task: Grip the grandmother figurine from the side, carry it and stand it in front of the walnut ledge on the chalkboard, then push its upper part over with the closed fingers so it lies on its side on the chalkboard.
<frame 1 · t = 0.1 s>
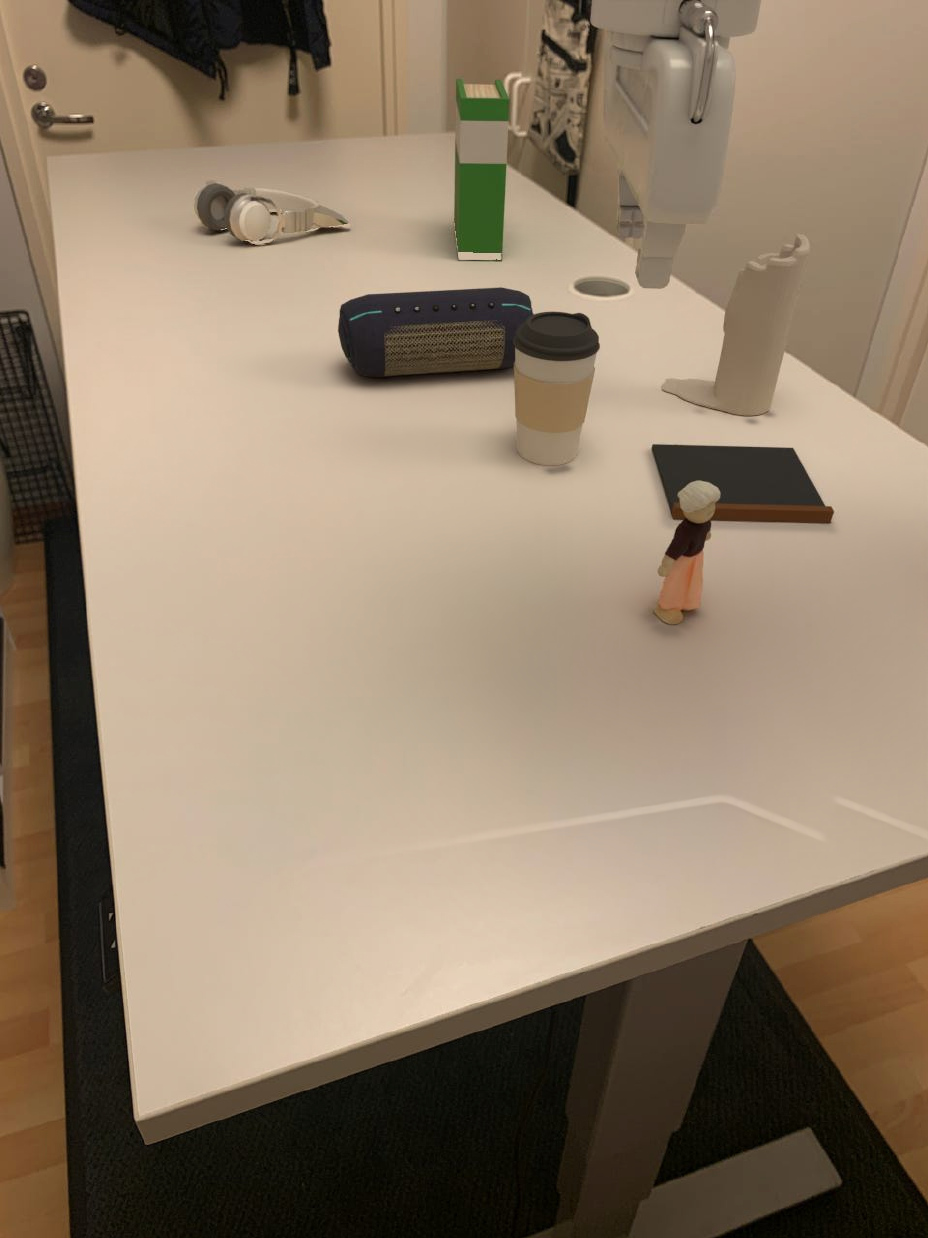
hand: (639, 258, 57), 32 cm above the table, tool pointing down, fingers open, 8 cm apart
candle: (714, 397, 114), on the table
hardback book: (476, 245, 160), on the table
grandmother figurine: (676, 607, 81), on the table
portable speaker: (438, 370, 119), on the table
headphones: (267, 229, 165), on the table
chalkboard: (735, 482, 98), on the table
coffee cup: (546, 451, 103), on the table
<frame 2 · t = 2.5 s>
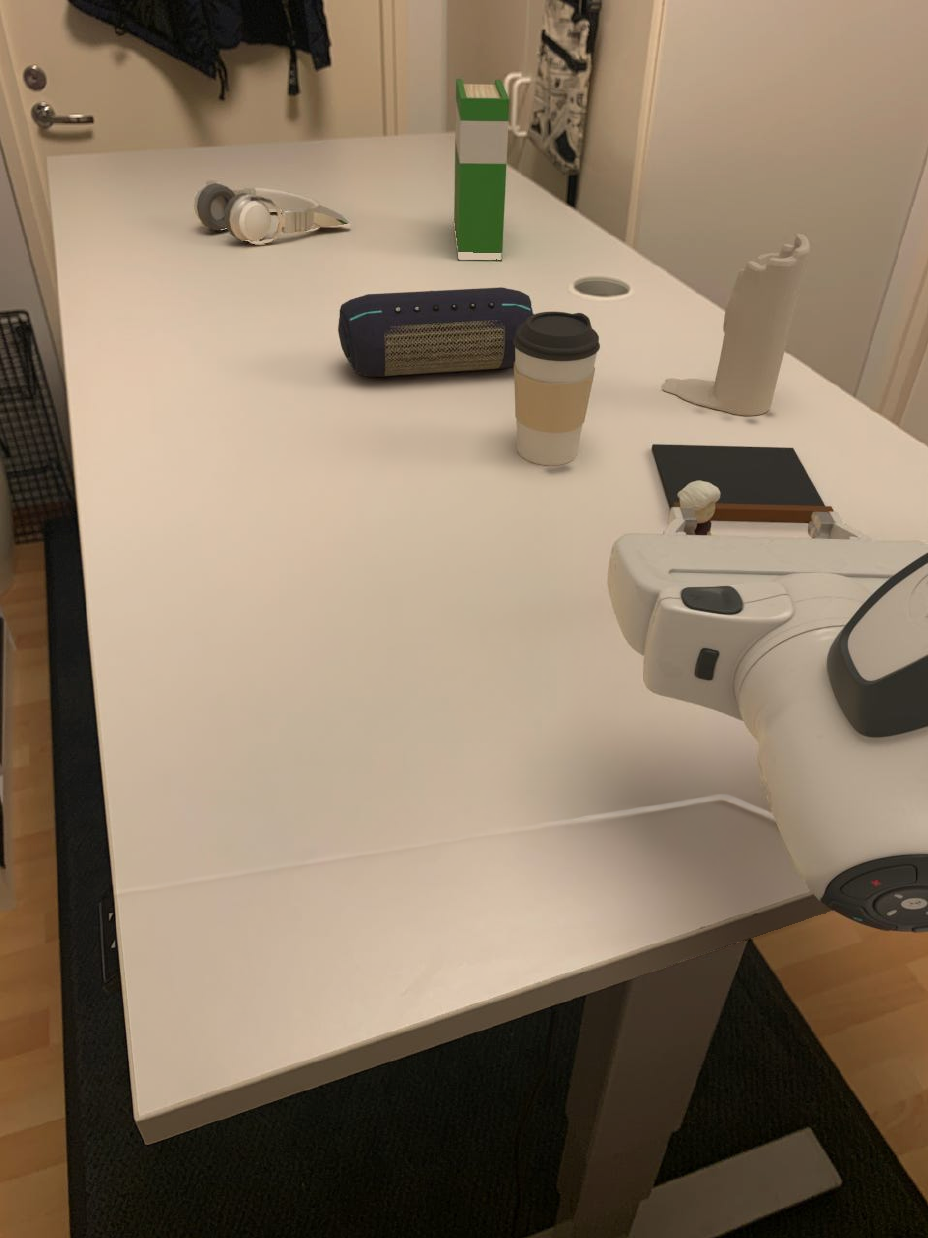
hand: (750, 517, 61), 17 cm above the table, tool horizontal, fingers open, 8 cm apart
nothing on the table moved.
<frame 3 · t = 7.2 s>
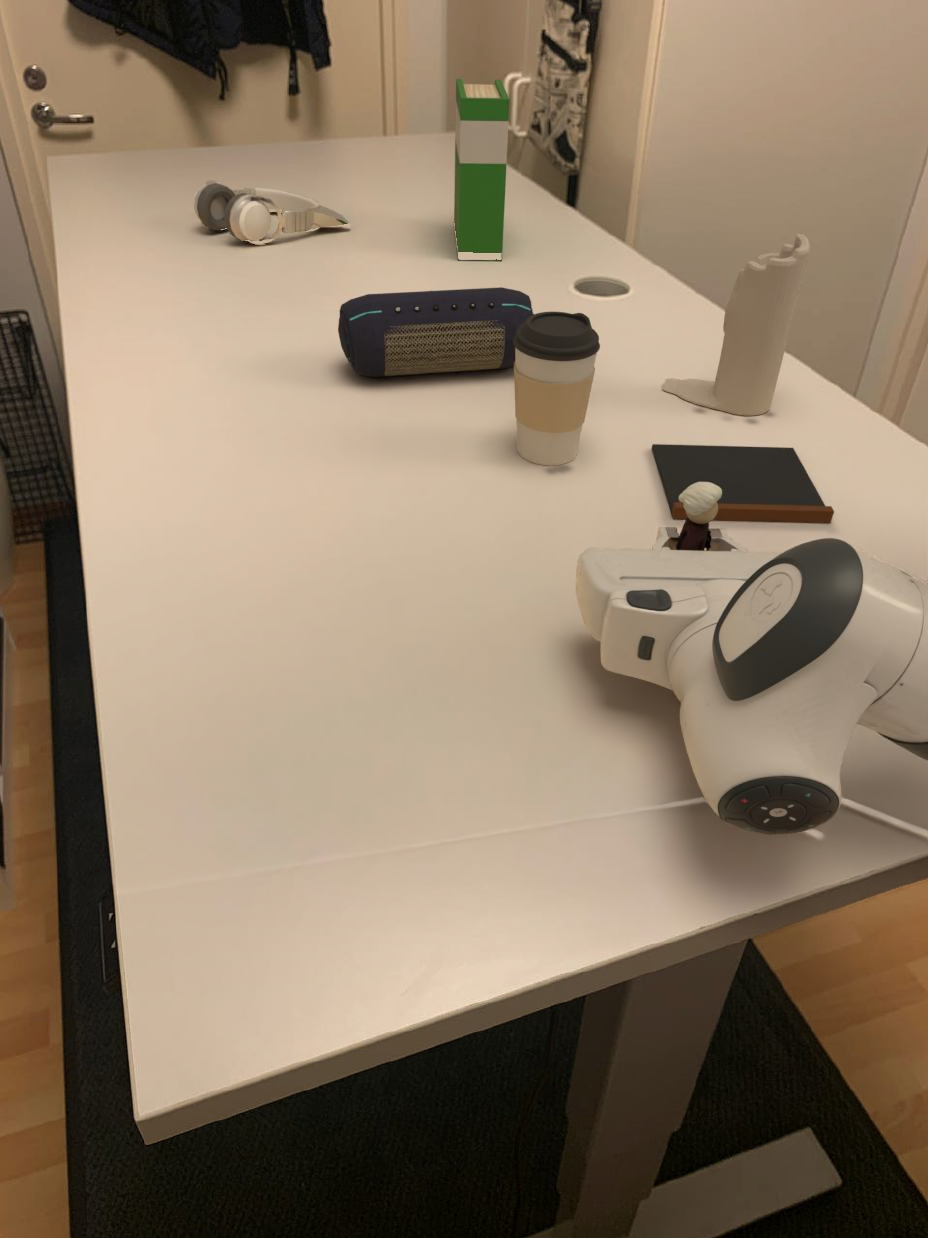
hand: (689, 534, 77), 7 cm above the table, tool horizontal, fingers closed on grandmother figurine, 3 cm apart
grandmother figurine: (679, 608, 81), on the table, touching gripper
everything else where it was.
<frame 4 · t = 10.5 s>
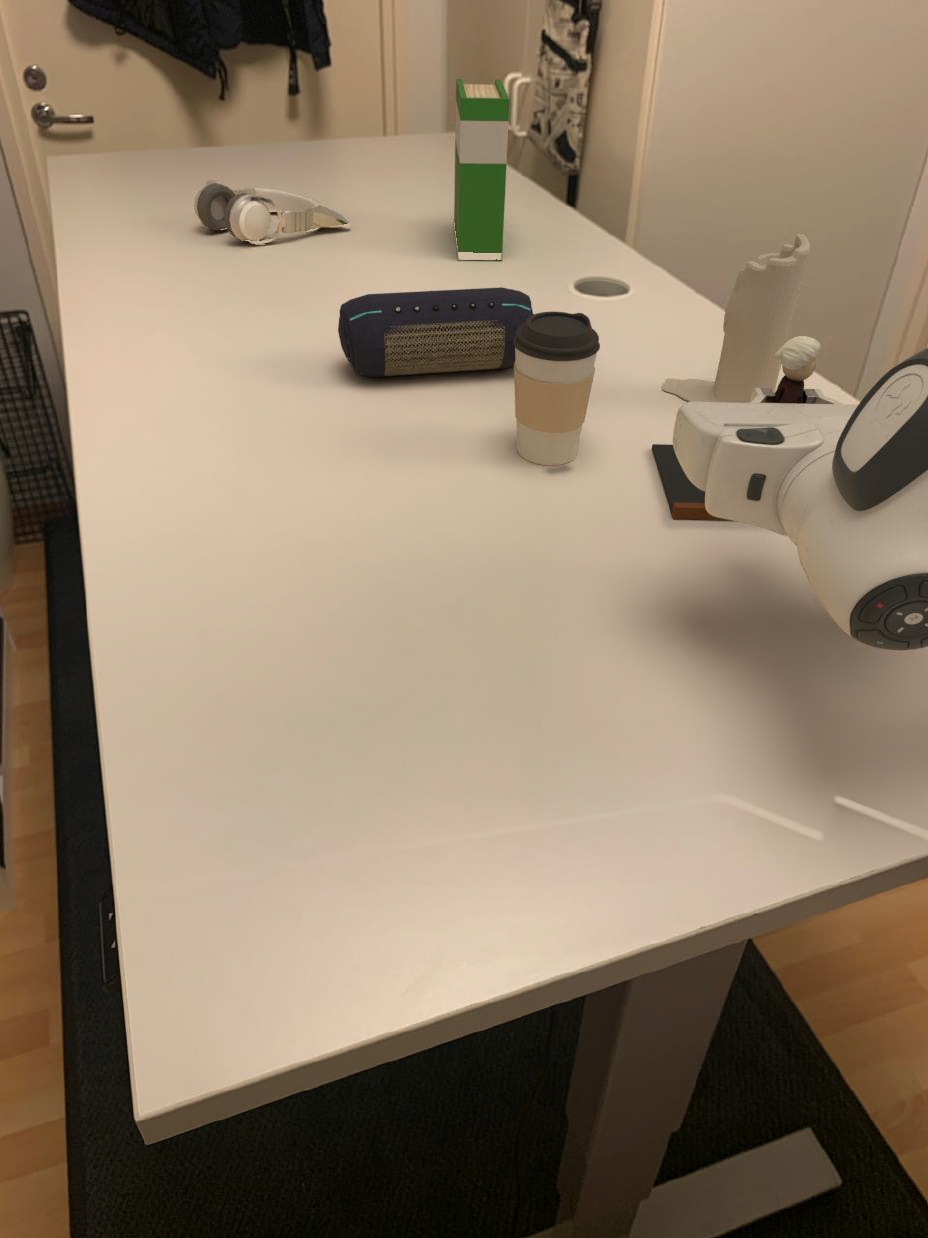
hand: (783, 396, 76), 17 cm above the table, tool horizontal, fingers closed on grandmother figurine, 3 cm apart
grandmother figurine: (769, 478, 80), point 9 cm above the table, touching gripper
everything else where it was.
when the fingers open (7 cm above the table, at t = 14.0 s): grandmother figurine stays where it is, on the table.
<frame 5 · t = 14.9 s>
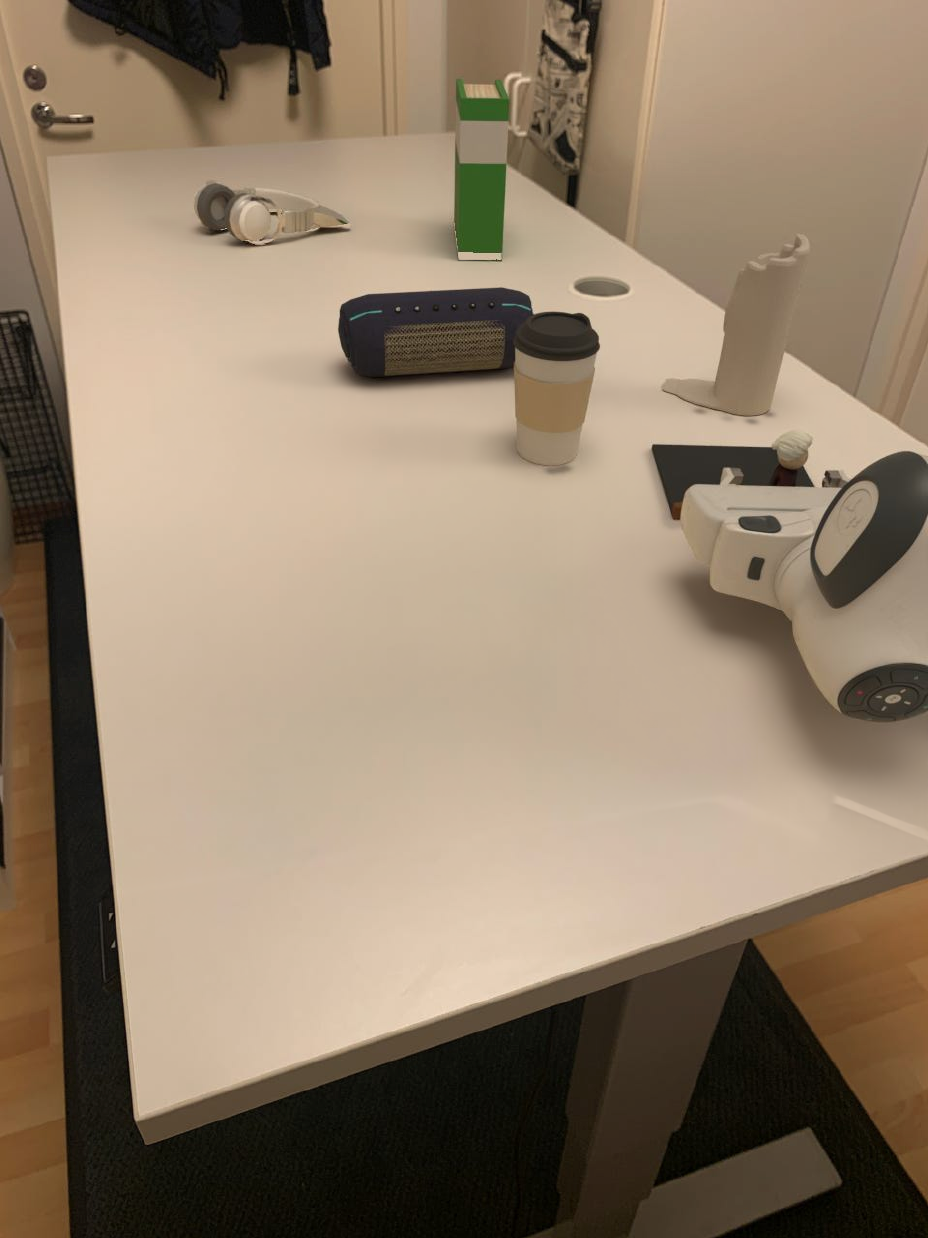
hand: (780, 475, 84), 8 cm above the table, tool horizontal, fingers open, 8 cm apart
grandmother figurine: (765, 551, 88), on the table
everything else where it was.
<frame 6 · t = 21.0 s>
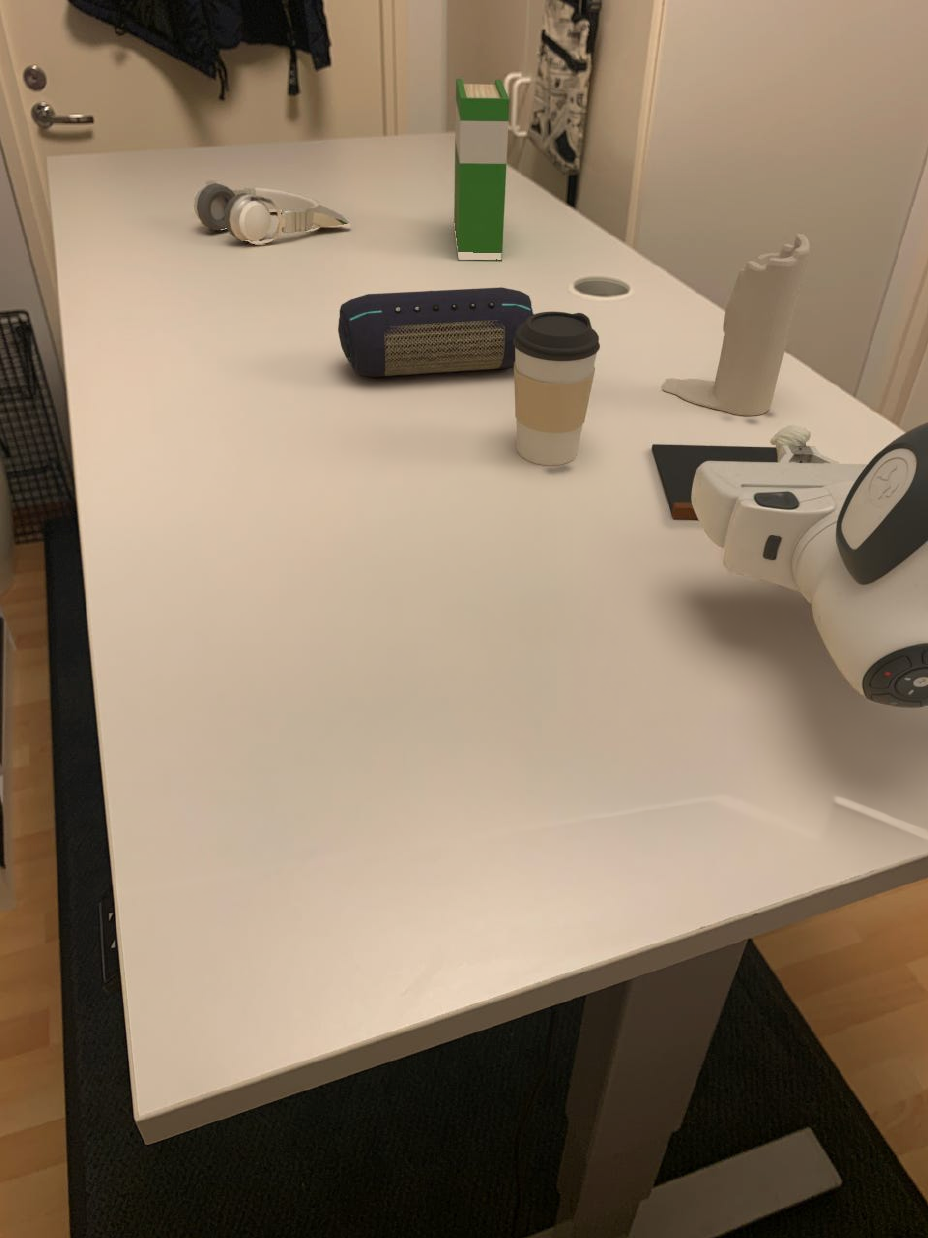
hand: (795, 452, 81), 11 cm above the table, tool horizontal, fingers closed
grandmother figurine: (765, 550, 88), on the table, touching gripper
everything else where it was.
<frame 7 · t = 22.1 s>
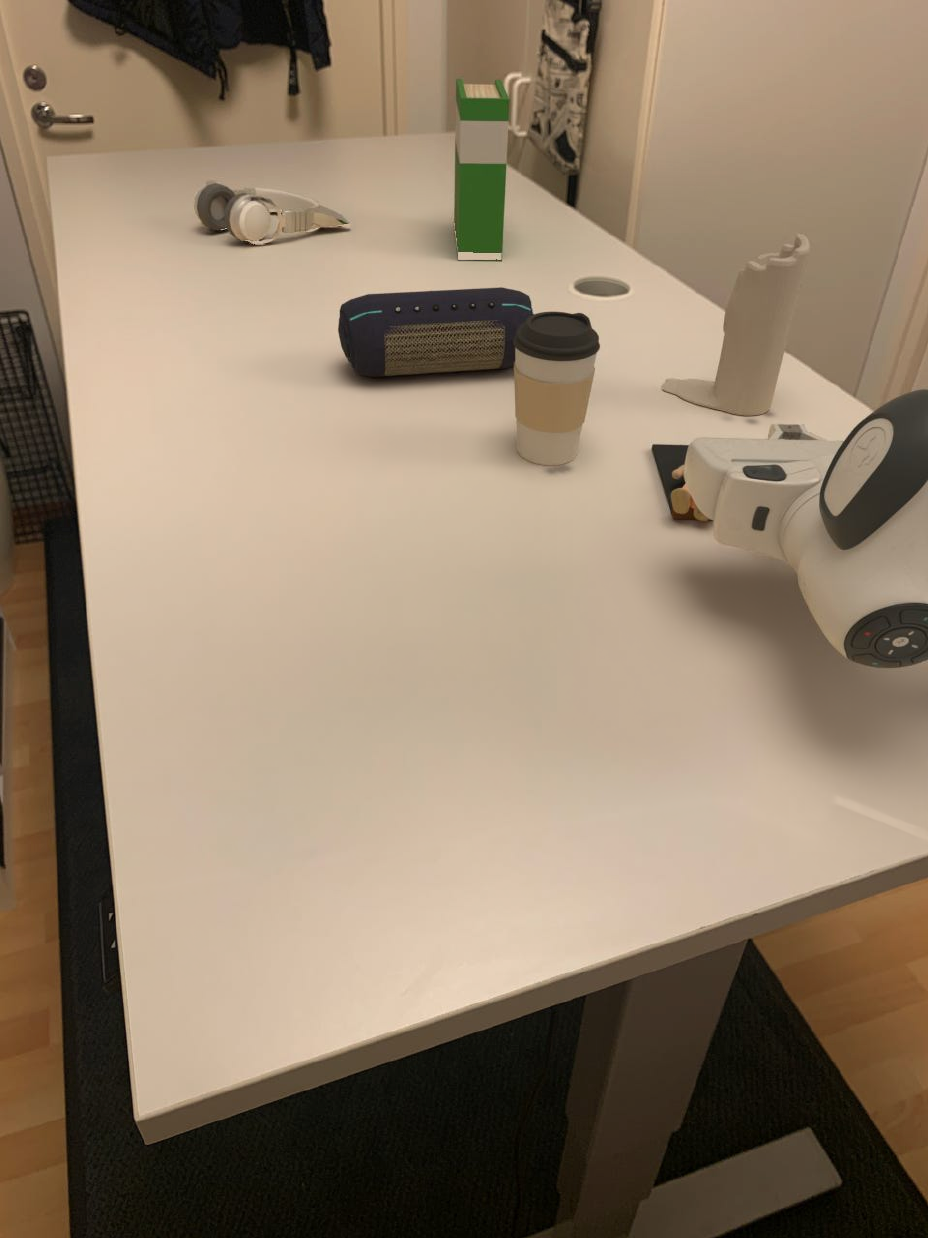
hand: (784, 431, 83), 11 cm above the table, tool horizontal, fingers closed
grandmother figurine: (696, 507, 89), point 2 cm above the table, touching chalkboard
everything else where it was.
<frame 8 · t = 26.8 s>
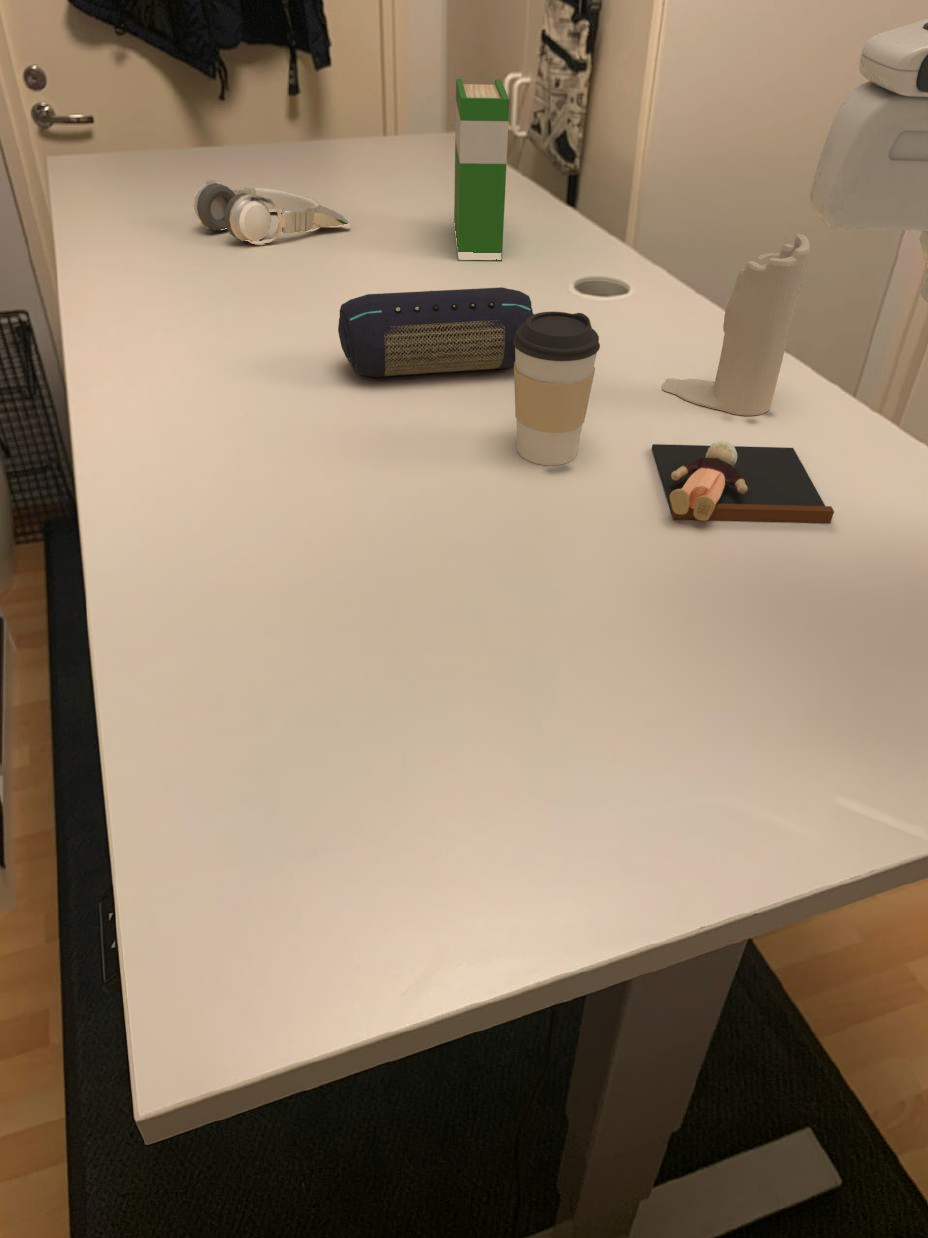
nothing on the table moved.
at the end: grandmother figurine tilted 89°; grandmother figurine inside the target area on the chalkboard (10.9 cm from its centre), point 2.4 cm above the chalkboard's base; the gripper is holding nothing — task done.
